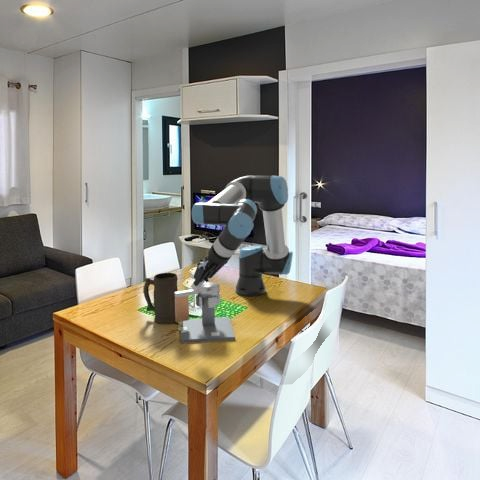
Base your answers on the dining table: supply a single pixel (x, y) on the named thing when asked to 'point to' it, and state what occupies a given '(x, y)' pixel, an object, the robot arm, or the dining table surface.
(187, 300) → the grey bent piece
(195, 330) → the post on base plate
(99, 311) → the dining table surface
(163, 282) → the beer stein
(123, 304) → the dining table surface
